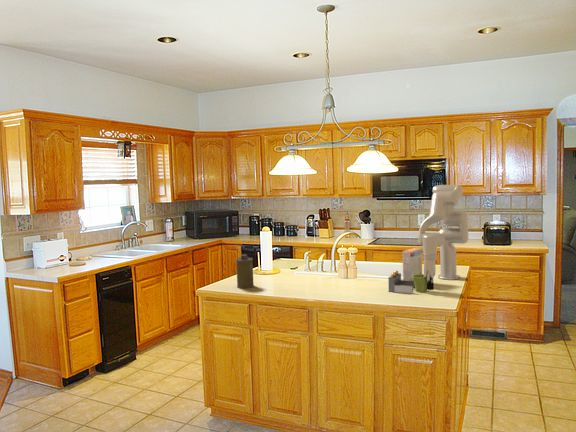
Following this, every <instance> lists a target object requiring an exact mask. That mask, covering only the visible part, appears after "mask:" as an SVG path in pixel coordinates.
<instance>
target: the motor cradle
mask: <svg viewBox="0 0 576 432" xmlns="http://www.w3.org/2000/svg"><path fill="white" fill-rule="evenodd" d="M390 274H391V275H390V276H388V281H387V282H388V292H390V293H397V294H409V295H410V294H411V295H412V294H414V289H415V283H414V281H410V280H403V279H402V273H401V272H400V273H399V270H393V272H391V273H390Z"/></svg>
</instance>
